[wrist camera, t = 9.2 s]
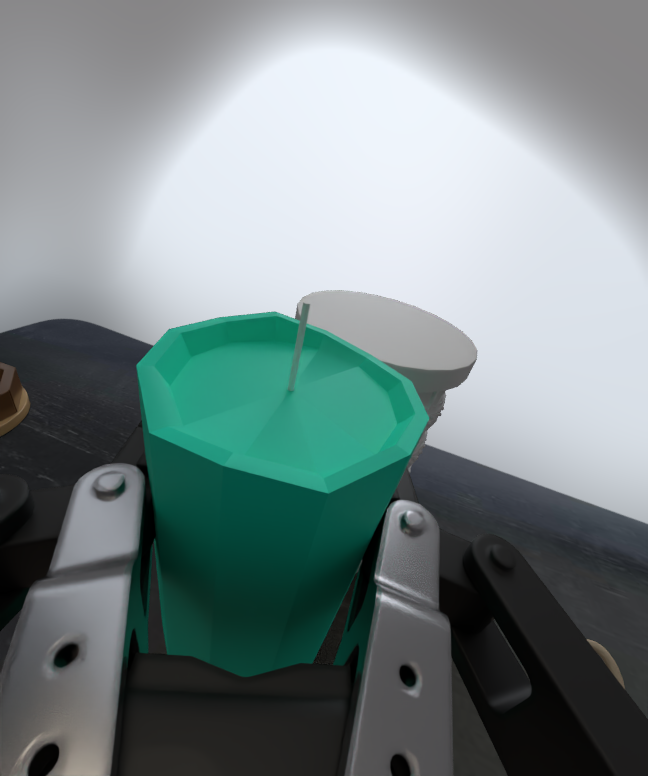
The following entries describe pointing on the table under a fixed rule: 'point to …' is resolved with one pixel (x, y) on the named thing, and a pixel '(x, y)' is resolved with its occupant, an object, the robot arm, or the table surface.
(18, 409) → the candle pad
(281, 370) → the candle
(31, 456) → the table surface
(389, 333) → the decorative container
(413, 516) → the robot arm
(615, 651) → the table surface
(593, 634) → the table surface
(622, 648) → the table surface
